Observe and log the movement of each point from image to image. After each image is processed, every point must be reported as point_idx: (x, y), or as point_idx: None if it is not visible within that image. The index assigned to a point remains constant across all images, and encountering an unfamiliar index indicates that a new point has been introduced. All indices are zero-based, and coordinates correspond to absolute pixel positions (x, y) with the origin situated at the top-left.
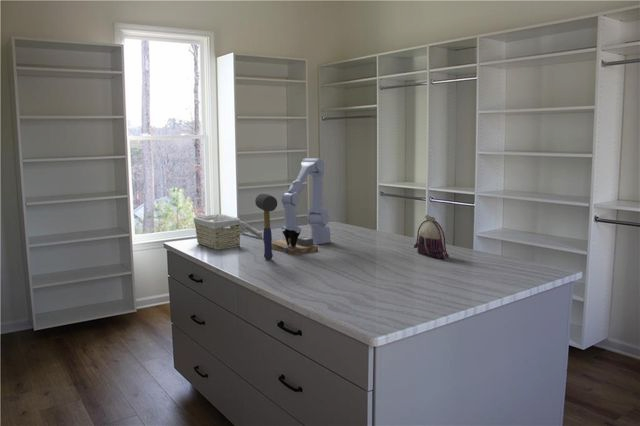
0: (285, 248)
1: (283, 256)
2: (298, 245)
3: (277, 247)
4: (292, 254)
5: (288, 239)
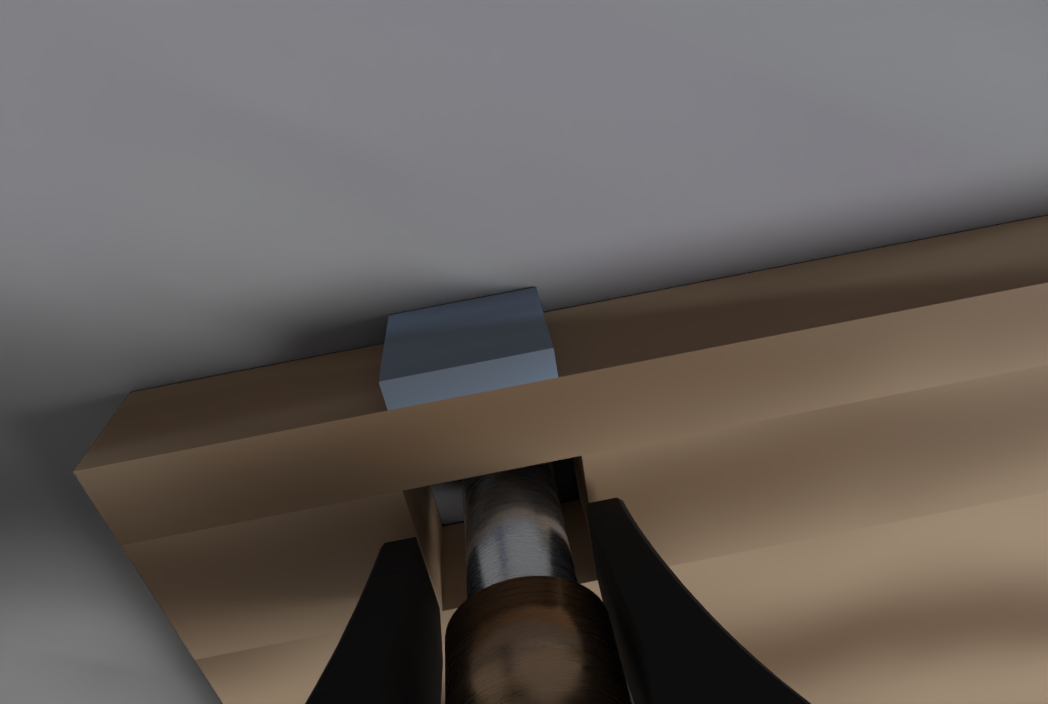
0: (410, 370)
1: (67, 143)
2: None
3: (865, 285)
4: (170, 389)
5: (535, 649)
